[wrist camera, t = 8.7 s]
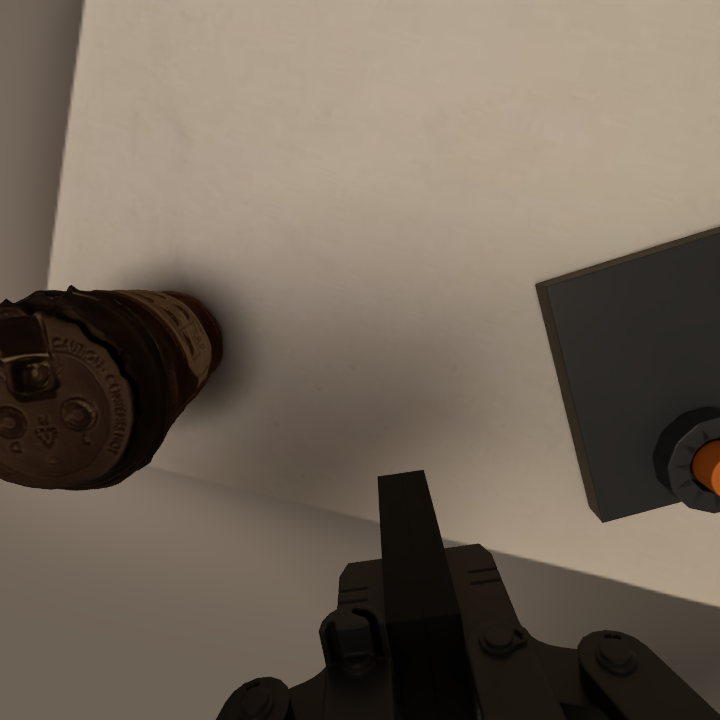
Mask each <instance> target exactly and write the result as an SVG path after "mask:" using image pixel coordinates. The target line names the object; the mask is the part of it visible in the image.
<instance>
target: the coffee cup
mask: <svg viewBox="0 0 720 720" xmlns="http://www.w3.org/2000/svg"><path fill="white" fill-rule="evenodd" d="M222 355H223V339H222V332H221V329H220V327H219V324H218V323H217V321H216V319H215V318H214V316H213V315H212V314H211V313H210V312H209V310H208V309H207V308H206V307H205V306H204V305H203V304H202V303H201V302H200V301H198V300H196V299H194V298H192V297H190V296H188V295H185V294H181V293H177V292H172V291H165V292H154V291H147V290H111V291H107V290H93V291H80V290H78V289H76V288H75V287H73V286H72V285H71V286H69V288H68V289H67V291H58V290H47V291H36V292H34V293H32V294H31V295H29V296H28V297H26V298H24V299H22V300H20V301H18V302H16V303H12V302H10V301H9V300H7V299H5V300H4V301H3V302H2V303H1V304H0V479H2V480H4V481H7V482H10V483H15V484H18V485H22V486H26V487H31V488H41V489H51V490H52V489H65V490H77V491H78V490H90V489H100V488H107V487H110V486H114V485H116V484H119V483H121V482H122V481H123V480H125V479H126V478H127V477H129V476H130V475H132V474H133V473H134V472H135V471H137V470H140V469H141V468H143V467H144V466H146V465H148V464H149V463H150V462H151V460H152V458H153V455H154V454H155V453H156V451H157V450H158V449H159V447H160V446H161V444H162V443H163V441H164V438H165V437H166V435H167V432H168V431H169V429H170V427H171V426H172V424H173V423H174V422H175V420H176V419H177V418H178V417H179V415H180V414H181V413H182V412H183V411H184V409H185V408H186V406H187V405H188V404H189V403H190V402H191V401H192V400H193V399H194V398H195V397H196V396H197V395H198V394H199V392H200V391H201V390H202V389H203V387H204V386H205V384H206V383H207V381H208V380H209V378H210V377H211V375H212V374H213V372H214V371H215V370H216V369H217V367H218V366H219V364H220V362H221V360H222Z"/></svg>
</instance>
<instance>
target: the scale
mask: <svg viewBox="0 0 720 720" xmlns="http://www.w3.org/2000/svg"><path fill="white" fill-rule="evenodd" d="M536 288H537V293H538V297H539V301H540V305H541V309H542V313H543V317H544V321H545V326H546V330H547V334H548V338H549V342H550V346H551V350H552V354H553V358H554V363H555V367H556V371H557V375H558V379H559V383H560V387H561V391H562V396H563V400H564V404H565V408H566V412H567V416H568V420H569V424H570V428H571V433H572V437H573V441H574V445H575V449H576V453H577V457H578V461H579V466H580V470H581V474H582V478H583V482H584V486H585V490H586V494H587V498H588V503H589V507H590V508H591V510H592V511H593V512H594V513H595V514H596V516H597V517H598V518H599V519H600V520H601V522H602V523H604V522H608V521H612V520H615V519H619V518H623V517H627V516H630V515H634V514H638V513H641V512H645V511H649V510H653V509H656V508H660V507H664V506H667V505H671V504H675V503H679V502H683V503H684V504H685V505H686V506H688V507H689V508H692V509H697V510H701V511H706V512H711V513H718V512H720V496H719V495H717V494H716V493H715V492H713V491H712V490H710V489H709V488H708V487H706V486H705V485H703V484H702V483H701V482H699V481H698V480H697V479H696V477H695V475H694V473H693V469H692V464H693V459H694V457H695V455H696V453H697V452H698V451H699V450H700V449H701V448H702V447H703V446H704V445H706V444H708V443H710V442H713V441H717V440H720V227H717V228H714V229H711V230H708V231H704V232H701V233H698V234H695V235H692V236H688V237H685V238H682V239H679V240H675V241H672V242H669V243H666V244H663V245H659V246H656V247H653V248H650V249H647V250H643V251H640V252H637V253H634V254H630V255H627V256H624V257H621V258H618V259H614V260H611V261H608V262H605V263H602V264H598V265H595V266H592V267H589V268H585V269H582V270H579V271H576V272H573V273H569V274H566V275H563V276H560V277H557V278H553V279H550V280H547V281H544V282H540V283H537V284H536Z"/></svg>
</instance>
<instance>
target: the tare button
mask: <svg viewBox="0 0 720 720" xmlns="http://www.w3.org/2000/svg"><path fill="white" fill-rule="evenodd" d="M692 469H693V473H694V475H695V477H696V479H697V480H698V481H699V482H701V483H702V484H703V485H705V486H706V487H708V488H709V489H710V490H712V491H713V492H715V493H716V494H717V495H719V496H720V440H717V441H713V442H710V443H708V444H706V445H704V446H703V447H702V448H701V449H700V450H699V451H698V452H697V453H696V455H695V457H694V459H693V464H692Z"/></svg>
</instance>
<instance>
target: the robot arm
mask: <svg viewBox="0 0 720 720" xmlns="http://www.w3.org/2000/svg"><path fill="white" fill-rule="evenodd" d="M378 493H379V512H380V530H381V549H382V559H377V560H370V561H362V562H355V563H348V565H347V566H346V568H345V569H344V571H343V572H342V574H341V576H340V579H339V594H338V606H337V610H335V611H333V612H332V613H330V614H329V615H328V616H327V617H326V618H325V619H324V620H323V622H322V624H321V627H320V629H319V634H320V640H321V644H322V649H323V653H324V658H325V663H326V667H325V668H324V669H323V670H322V671H321V672H320V673H319V674H318V675H316V676H315V677H313V678H312V679H310V680H308V681H306V682H304V683H302V684H299V685H297V686H294V687H292V688H290V689H288V687H287V686H286V685H285V684H284V683H283V682H282V681H281V680H279V679H276V678H273V677H263V678H256V679H254V680H252V681H249V682H247V683H245V684H243V685H242V686H241V687H239V688H238V689H237V690H235V691H234V692H233V693H232V695H231V696H230V697H229V698H228V700H227V701H226V702H225V704H224V706H223V708H222V709H221V711H220V713H219V715H218V717H217V719H216V720H720V714H719V713H717V712H716V711H715V710H714V709H713V708H712V707H711V706H710V705H709V704H708V703H707V702H706V701H705V700H704V699H703V698H701V697H700V696H699V695H698V694H697V693H696V692H695V691H694V690H693V689H692V688H691V687H690V686H688V684H687V683H686V682H684V681H683V680H682V679H681V678H680V677H679V676H678V675H677V674H676V673H675V672H674V671H673V670H672V669H671V668H670V667H668V666H667V665H666V664H665V663H664V662H663V661H662V660H661V659H660V658H659V657H658V656H657V655H656V654H655V653H654V652H652V651H651V650H650V649H649V648H648V647H647V646H646V645H645V644H643V643H642V642H640V641H639V640H637V639H636V638H635V637H632V636H630V635H627V634H624V633H622V632H617V631H608V630H603V631H597V632H592V633H590V634H589V635H587V636H585V637H583V638H582V640H581V642H580V644H579V645H578V649H571V648H563V647H557V646H552V645H548V644H545V643H543V642H541V641H538V640H536V639H535V638H533V637H532V636H531V635H530V634H529V633H528V631H527V630H526V629H525V628H524V627H522V626H521V624H520V623H519V620H518V619H517V616H516V613H515V611H514V608H513V606H512V603H511V601H510V598H509V596H508V594H507V591H506V588H505V586H504V584H503V581H502V579H501V576H500V574H499V571H498V570H497V566H496V564H495V562H494V559H493V556H492V554H491V553H490V552H488V551H487V550H486V549H485V548H484V547H483V546H481V545H480V544H472V545H465V546H458V547H451V548H444V546H443V542H442V538H441V535H440V531H439V527H438V523H437V519H436V515H435V511H434V507H433V504H432V500H431V496H430V492H429V488H428V484H427V480H426V477H425V473H424V470H419V471H412V472H405V473H398V474H392V475H385V476H378Z"/></svg>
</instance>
